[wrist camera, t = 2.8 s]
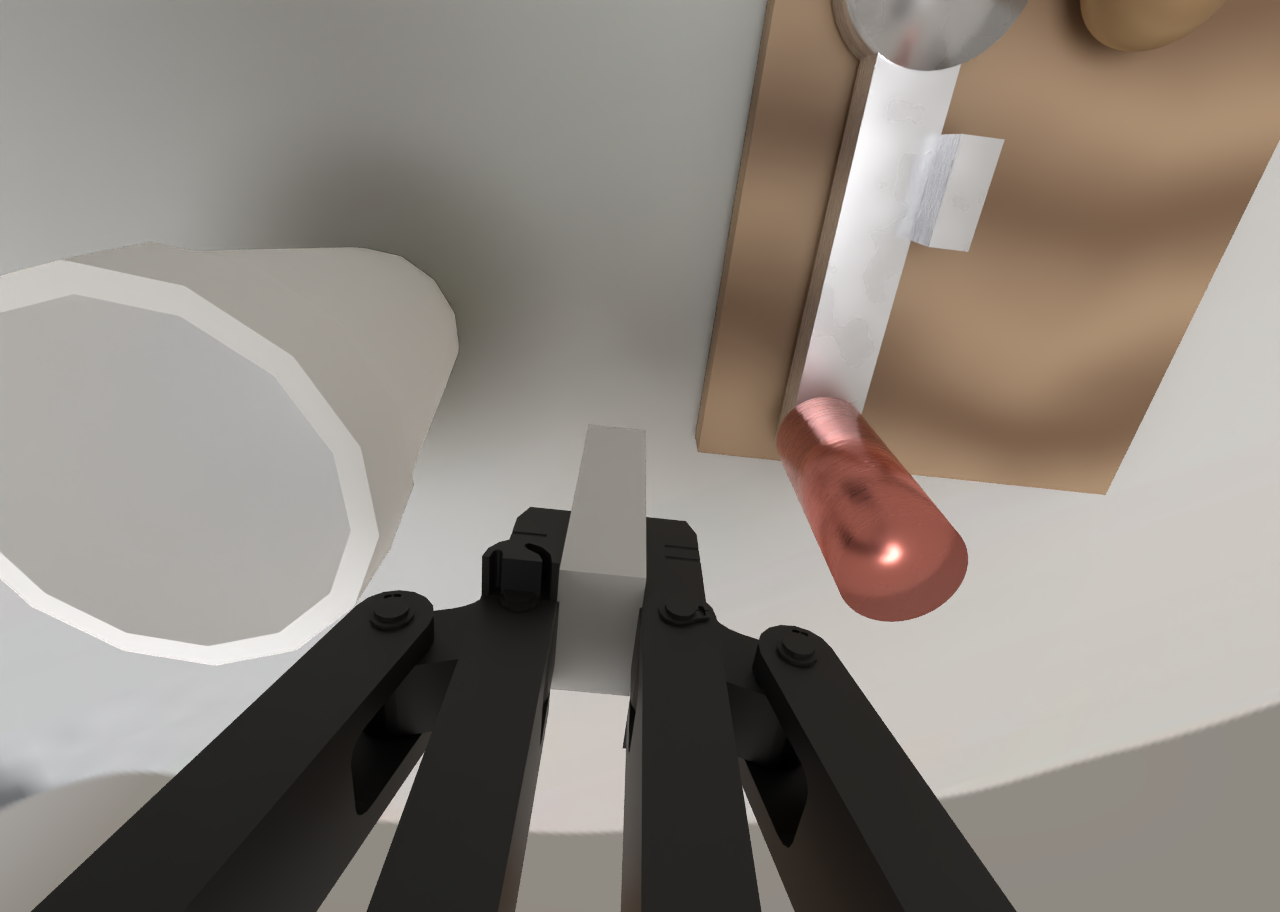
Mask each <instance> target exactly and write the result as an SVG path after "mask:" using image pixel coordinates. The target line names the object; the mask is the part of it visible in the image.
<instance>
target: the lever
mask: <svg viewBox="0 0 1280 912" xmlns="http://www.w3.org/2000/svg"><path fill="white" fill-rule="evenodd" d="M1027 2H1028V0H833V9H834V14H835V19H836V22H837V26H838V29H839V31H840V34H841V36H842V38H843V40H844V42H845V43H846V45H847V46H848V48H849V49H850V51H851V52H852V53H853V54H854V55H855V56H856V58H857V59H858V60H860V64H859V69H858V73H857V78H856V82H855V87H854V91H853V95H852V100H851V104H850V109H849V113H848V118H847V122H846V126H845V131H844V135H843V140H842V144H841V149H840V153H839V157H838V162H837V166H836V171H835V175H834V180H833V184H832V188H831V193H830V197H829V202H828V206H827V211H826V215H825V219H824V224H823V228H822V233H821V237H820V242H819V246H818V250H817V255H816V259H815V264H814V268H813V273H812V277H811V281H810V286H809V290H808V295H807V299H806V304H805V308H804V312H803V317H802V321H801V326H800V330H799V335H798V339H797V343H796V348H795V352H794V357H793V361H792V366H791V370H790V374H789V379H788V383H787V388H786V392H785V397H784V401H783V405H782V410H781V414H780V419H779V423H778V427H777V432H776V436H775V441H774V442H775V445H776V447H777V451H778V454H779V457H780V459H781V461H782V463H783V466H784V468H785V470H786V472H787V475H788V477H789V479H790V481H791V484H792V486H793V488H794V490H795V493H796V495H797V497H798V499H799V502H800V504H801V506H802V508H803V511H804V513H805V515H806V517H807V520H808V522H809V524H810V526H811V529H812V531H813V533H814V535H815V538H816V540H817V542H818V544H819V547H820V549H821V551H822V553H823V556H824V558H825V560H826V562H827V565H828V567H829V569H830V571H831V574H832V576H833V578H834V580H835V583H836V585H837V587H838V589H839V592H840V594H841V596H842V598H843V599H844V601H845V602H846V603H847V604H848V606H849V607H850V608H852V609H853V610H854V611H856V612H857V613H859V614H861V615H862V616H865V617H867V618H870V619H874V620H879V621H890V622H894V621H904V620H909V619H913V618H917V617H920V616H922V615H925V614H927V613H929V612H931V611H933V610H935V609H936V608H938V607H939V606H941V605H942V604H943V603H945V602H946V601H947V600H948V599H949V598H950V597H951V596H952V595H953V594H954V593H955V592H956V590H957V589H958V588H959V586H960V585H961V583H962V581H963V579H964V577H965V574H966V571H967V565H968V554H967V548H966V546H965V543H964V541H963V539H962V537H961V536H960V535H959V534H958V532H957V531H956V530H955V529H954V527H953V526H952V525H951V524H950V523H949V521H948V520H947V519H946V518H945V516H944V515H943V514H942V513H941V512H940V510H939V509H938V508H937V507H936V505H935V504H934V503H933V502H932V501H931V499H930V498H929V497H928V496H927V494H926V493H925V492H924V491H923V490H922V488H921V487H920V486H919V485H918V483H917V482H916V481H915V480H914V479H913V477H912V476H911V475H910V474H909V472H908V471H907V470H906V469H905V468H904V466H903V465H902V464H901V463H900V461H899V460H898V459H897V458H896V457H895V455H894V454H893V453H892V452H891V450H890V449H889V448H888V447H887V446H886V444H885V443H884V442H883V441H882V439H881V438H880V437H879V436H878V435H877V433H876V432H875V431H874V430H873V428H872V427H871V426H870V425H869V424H868V422H867V421H866V420H865V419H864V417H863V416H862V415H861V414H862V411H863V407H864V404H865V400H866V397H867V393H868V390H869V386H870V383H871V379H872V376H873V372H874V368H875V365H876V361H877V358H878V354H879V351H880V347H881V344H882V340H883V337H884V333H885V330H886V326H887V323H888V319H889V316H890V312H891V309H892V305H893V302H894V298H895V295H896V291H897V288H898V284H899V281H900V277H901V274H902V270H903V267H904V263H905V260H906V256H907V253H908V249H909V246H910V242H911V241H913V242H916V243H919V244H922V245H925V246H927V247H933V248H941V249H949V250H957V251H965V252H968V251H969V248H970V245H971V242H972V239H973V236H974V233H975V230H976V226H977V223H978V220H979V217H980V214H981V211H982V208H983V205H984V202H985V199H986V196H987V192H988V189H989V186H990V183H991V180H992V177H993V174H994V171H995V168H996V165H997V162H998V159H999V155H1000V152H1001V149H1002V146H1003V143H1004V140H1005V139H997V138H990V137H982V136H974V135H967V134H946V135H941V133H942V130H943V126H944V123H945V119H946V116H947V112H948V109H949V105H950V101H951V98H952V94H953V91H954V87H955V84H956V80H957V77H958V73H959V70H960V66H961V64H962V63H965V62H967V61H969V60H971V59H973V58H975V57H976V56H978V55H980V54H981V53H983V52H984V51H985V50H987V49H988V48H990V47H991V46H992V45H993V44H994V43H995V42H996V41H998V40H999V39H1000V38H1001V37H1002V36H1003V35H1004V34H1005V33H1006V31H1007V30H1008V29H1009V28H1010V27H1011V26H1012V24H1013V23H1014V22H1015V20H1016V19H1017V18H1018V16H1019V15H1020V13H1021V12H1022V10H1023V8H1024V7H1025V5H1026V3H1027Z"/></svg>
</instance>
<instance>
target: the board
mask: <svg viewBox="0 0 1280 912" xmlns="http://www.w3.org/2000/svg"><path fill="white" fill-rule="evenodd" d="M859 64H860V60H858V59H857V58H856V56H855V55H854V54H853V53H852V52H851V51H850V49H849V48H848V46H847V45H846V43H845V42H844V40H843V38H842V36H841V34H840V31H839V29H838V26H837V22H836V19H835V14H834V9H833V0H768V2H767V8H766V14H765V20H764V26H763V32H762V38H761V44H760V50H759V56H758V62H757V68H756V74H755V80H754V86H753V92H752V98H751V104H750V110H749V116H748V122H747V128H746V134H745V140H744V146H743V152H742V158H741V164H740V170H739V176H738V182H737V188H736V194H735V200H734V206H733V212H732V218H731V224H730V230H729V236H728V242H727V248H726V254H725V260H724V266H723V272H722V278H721V284H720V290H719V296H718V302H717V308H716V314H715V320H714V326H713V332H712V338H711V344H710V350H709V356H708V362H707V368H706V374H705V380H704V386H703V392H702V398H701V404H700V410H699V416H698V422H697V428H696V434H695V439H696V444H697V449H698V452H703V453H713V454H722V455H732V456H741V457H751V458H760V459H770V460H779V461H781V459H780V457H779V454H778V451H777V447H776V445H775V442H774V441H775V436H776V432H777V427H778V423H779V419H780V414H781V410H782V405H783V401H784V397H785V392H786V388H787V383H788V379H789V374H790V370H791V366H792V361H793V357H794V352H795V348H796V343H797V339H798V335H799V330H800V326H801V321H802V317H803V312H804V308H805V304H806V299H807V295H808V290H809V286H810V281H811V277H812V273H813V268H814V264H815V259H816V255H817V250H818V246H819V242H820V237H821V233H822V228H823V224H824V219H825V215H826V211H827V206H828V202H829V197H830V193H831V188H832V184H833V180H834V175H835V171H836V166H837V162H838V157H839V153H840V149H841V144H842V140H843V135H844V131H845V126H846V122H847V118H848V113H849V109H850V104H851V100H852V95H853V91H854V87H855V82H856V78H857V73H858V69H859ZM946 134H967V135H974V136H982V137H990V138H997V139H1005V140H1004V143H1003V146H1002V149H1001V152H1000V155H999V159H998V162H997V165H996V168H995V171H994V174H993V177H992V180H991V183H990V186H989V189H988V192H987V196H986V199H985V202H984V205H983V208H982V211H981V214H980V217H979V220H978V223H977V226H976V230H975V233H974V236H973V239H972V242H971V245H970V248H969V251H968V252H965V251H957V250H949V249H941V248H933V247H927V246H925V245H922V244H919V243H916V242H913V241H911V242H910V246H909V249H908V253H907V256H906V260H905V263H904V267H903V270H902V274H901V277H900V281H899V284H898V288H897V291H896V295H895V298H894V302H893V305H892V309H891V312H890V316H889V319H888V323H887V326H886V330H885V333H884V337H883V340H882V344H881V347H880V351H879V354H878V358H877V361H876V365H875V368H874V372H873V376H872V379H871V383H870V386H869V390H868V393H867V397H866V400H865V404H864V407H863V411H862V414H861V415H862V416H863V417H864V419H865V420H866V421H867V422H868V424H869V425H870V426H871V427H872V428H873V430H874V431H875V432H876V433H877V435H878V436H879V437H880V438H881V439H882V441H883V442H884V443H885V444H886V446H887V447H888V448H889V449H890V450H891V452H892V453H893V454H894V455H895V457H896V458H897V459H898V460H899V461H900V463H901V464H902V465H903V466H904V468H905V469H906V470H907V471H908V472H909V474H912V475H922V476H931V477H941V478H950V479H960V480H969V481H979V482H988V483H998V484H1007V485H1017V486H1026V487H1036V488H1045V489H1055V490H1064V491H1074V492H1083V493H1093V494H1103V495H1106V493H1107V491H1108V489H1109V487H1110V485H1111V483H1112V481H1113V478H1114V476H1115V474H1116V472H1117V470H1118V468H1119V466H1120V464H1121V462H1122V460H1123V458H1124V456H1125V454H1126V452H1127V450H1128V448H1129V446H1130V444H1131V442H1132V440H1133V438H1134V436H1135V434H1136V432H1137V430H1138V427H1139V425H1140V423H1141V421H1142V419H1143V417H1144V415H1145V413H1146V411H1147V409H1148V407H1149V405H1150V403H1151V401H1152V399H1153V397H1154V395H1155V393H1156V391H1157V389H1158V387H1159V385H1160V383H1161V381H1162V379H1163V377H1164V374H1165V372H1166V370H1167V368H1168V366H1169V364H1170V362H1171V360H1172V358H1173V356H1174V354H1175V352H1176V350H1177V348H1178V346H1179V344H1180V342H1181V340H1182V338H1183V336H1184V334H1185V332H1186V330H1187V328H1188V326H1189V323H1190V321H1191V319H1192V317H1193V315H1194V313H1195V311H1196V309H1197V307H1198V305H1199V303H1200V301H1201V299H1202V297H1203V295H1204V293H1205V291H1206V289H1207V287H1208V285H1209V283H1210V281H1211V279H1212V277H1213V275H1214V272H1215V270H1216V268H1217V266H1218V264H1219V262H1220V260H1221V258H1222V256H1223V254H1224V252H1225V250H1226V248H1227V246H1228V244H1229V242H1230V240H1231V238H1232V236H1233V234H1234V232H1235V230H1236V228H1237V226H1238V224H1239V222H1240V219H1241V217H1242V215H1243V213H1244V211H1245V209H1246V207H1247V205H1248V203H1249V201H1250V199H1251V197H1252V195H1253V193H1254V191H1255V189H1256V187H1257V185H1258V183H1259V181H1260V179H1261V177H1262V175H1263V173H1264V171H1265V168H1266V166H1267V164H1268V162H1269V160H1270V158H1271V156H1272V154H1273V152H1274V150H1275V148H1276V146H1277V144H1278V142H1279V140H1280V0H1227V1H1226V2H1225V3H1224V4H1223V5H1222V6H1221V8H1220V9H1219V10H1218V11H1217V12H1216V13H1215V14H1214V15H1213V16H1212V17H1211V18H1210V19H1209V20H1207V21H1206V22H1205V23H1204V24H1202V25H1201V26H1200V27H1199V28H1197V29H1196V30H1194V31H1193V32H1191V33H1190V34H1188V35H1187V36H1185V37H1183V38H1181V39H1179V40H1177V41H1175V42H1173V43H1171V44H1168V45H1166V46H1163V47H1160V48H1156V49H1152V50H1148V51H1137V52H1129V51H1121V50H1116V49H1113V48H1110V47H1108V46H1106V45H1104V44H1102V43H1101V42H1099V41H1098V40H1097V39H1096V38H1095V37H1094V36H1093V35H1092V34H1091V33H1090V31H1089V30H1088V28H1087V27H1086V25H1085V23H1084V20H1083V17H1082V13H1081V8H1080V0H1028V2H1027V3H1026V5H1025V7H1024V8H1023V10H1022V12H1021V13H1020V15H1019V16H1018V18H1017V19H1016V20H1015V22H1014V23H1013V24H1012V26H1011V27H1010V28H1009V29H1008V30H1007V31H1006V33H1005V34H1004V35H1003V36H1002V37H1001V38H1000V39H999V40H998V41H996V42H995V43H994V44H993V45H992V46H991V47H990V48H988V49H987V50H985V51H984V52H983V53H981V54H980V55H978V56H976V57H975V58H973V59H971V60H969V61H967V62H965V63H962V64H961V66H960V70H959V73H958V77H957V80H956V84H955V87H954V91H953V94H952V98H951V101H950V105H949V109H948V112H947V116H946V119H945V123H944V126H943V130H942V133H941V135H946Z"/></svg>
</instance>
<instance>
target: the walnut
mask: <svg viewBox="0 0 1280 912" xmlns="http://www.w3.org/2000/svg"><path fill="white" fill-rule="evenodd" d="M1226 1H1227V0H1080V8H1081V13H1082V17H1083V20H1084V23H1085V25H1086V27H1087V28H1088V30H1089V31H1090V33H1091V34H1092V35H1093V36H1094V37H1095V38H1096V39H1097V40H1098V41H1099V42H1101V43H1102V44H1104V45H1106V46H1108V47H1110V48H1113V49H1116V50H1121V51H1129V52H1137V51H1148V50H1152V49H1156V48H1160V47H1163V46H1166V45H1168V44H1171V43H1173V42H1175V41H1177V40H1179V39H1181V38H1183V37H1185V36H1187V35H1188V34H1190V33H1191V32H1193V31H1194V30H1196V29H1197V28H1199V27H1200V26H1201V25H1202V24H1204V23H1205V22H1206V21H1207V20H1209V19H1210V18H1211V17H1212V16H1213V15H1214V14H1215V13H1216V12H1217V11H1218V10H1219V9H1220V8H1221V6H1222V5H1223V4H1224V3H1225V2H1226Z"/></svg>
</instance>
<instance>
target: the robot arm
mask: <svg viewBox="0 0 1280 912" xmlns="http://www.w3.org/2000/svg"><path fill="white" fill-rule="evenodd" d="M550 688H551V689H557V690H568V691H579V692H590V693H601V694H612V695H623V696H629V695H630V702H629V709H628V716H627V722H626V729H625V736H624V743H623V748H626V768H625V799H624V830H623V861H622V893H621V912H761V906H760V900H759V893H758V887H757V880H756V873H755V867H754V860H753V854H752V847H751V841H750V834H749V828H748V821H747V815H746V808H745V802H744V795H743V789H744V791H745V793H746V796H747V798H748V801H749V803H750V805H751V808H752V810H753V813H754V815H755V817H756V820H757V822H758V825H759V827H760V829H761V832H762V834H763V836H764V839H765V841H766V844H767V846H768V848H769V851H770V853H771V856H772V858H773V860H774V863H775V865H776V868H777V870H778V872H779V875H780V877H781V880H782V882H783V884H784V887H785V889H786V892H787V894H788V897H789V899H790V901H791V904H792V906H793V908H794V911H795V912H1016V910H1015V909H1014V907H1013V906H1012V905H1011V903H1010V902H1009V900H1008V899H1007V897H1006V896H1005V894H1004V893H1003V892H1002V890H1001V889H1000V887H999V886H998V885H997V883H996V882H995V881H994V879H993V878H992V876H991V875H990V873H989V872H988V870H987V869H986V867H985V866H984V865H983V863H982V862H981V860H980V859H979V857H978V856H977V855H976V853H975V852H974V850H973V849H972V848H971V846H970V845H969V843H968V842H967V840H966V839H965V838H964V836H963V835H962V833H961V832H960V830H959V829H958V828H957V827H956V825H955V823H954V822H953V820H952V819H951V818H950V816H949V815H948V813H947V812H946V810H945V809H944V808H943V806H942V805H941V804H940V802H939V800H938V799H937V798H936V796H935V795H934V793H933V792H932V790H931V789H930V788H929V786H928V785H927V783H926V782H925V780H924V779H923V778H922V776H921V775H920V773H919V772H918V771H917V769H916V768H915V766H914V765H913V763H912V762H911V761H910V759H909V758H908V756H907V755H906V753H905V752H904V751H903V749H902V748H901V746H900V745H899V743H898V742H897V741H896V739H895V738H894V736H893V735H892V733H891V732H890V731H889V729H888V728H887V726H886V725H885V724H884V722H883V721H882V719H881V718H880V716H879V715H878V714H877V712H876V711H875V709H874V708H873V706H872V705H871V704H870V702H869V701H868V699H867V698H866V696H865V695H864V694H863V692H862V691H861V689H860V688H859V686H858V685H857V684H856V682H855V681H854V679H853V678H852V677H851V675H850V674H849V672H848V671H847V669H846V668H845V667H844V665H843V664H842V662H841V661H840V659H839V658H838V657H837V655H836V654H835V652H834V651H833V649H832V648H831V647H830V646H829V645H828V644H827V643H826V642H825V641H824V640H823V639H822V638H821V637H819V636H817V635H816V634H814V633H812V632H810V631H809V630H805V629H802V628H799V627H796V626H786V625H779V626H775V627H770V628H768V629H767V630H765V631H764V632H763V633H762V634H761V635H760V638H759V640H758V639H755V638H752V637H749V636H745V635H742V634H740V633H737V632H735V631H732V630H730V629H728V628H727V627H725V626H723V625H722V624H720V623H719V622H718V621H717V619H716V616H715V613H714V611H713V609H712V607H711V606H710V605H708V604H707V603H706V599H705V592H704V584H703V577H702V570H701V563H700V556H699V551H698V542H697V535H696V533H695V532H694V531H693V530H692V528H691V527H690V526H689V525H688V523H687V522H686V521H678V520H668V519H659V518H649V517H646V455H645V431H643V430H634V429H625V428H616V427H606V426H597V425H589V427H588V431H587V436H586V441H585V446H584V451H583V456H582V461H581V466H580V471H579V476H578V481H577V486H576V491H575V496H574V500H573V505H572V510H571V511H565V510H555V509H545V508H535V507H530V508H529V509H527V510H526V511H525V512H524V513H523V514H521V515H520V516H519V517H518V518H517V520H516V523H515V526H514V528H513V532H512V534H511V537H510V540H506V541H502V542H499V543H497V544H495V545H493V546H491V547H489V548H488V549H487V551H486V552H485V553H484V554H483V556H482V596H481V598H480V600H478V601H476V602H475V603H472V604H469V605H466V606H463V607H458V608H453V609H445V610H437V611H433V605H432V604H431V602H430V601H429V600H428V599H427V598H426V597H424V596H422V595H420V594H417V593H415V592H409V591H401V590H398V591H389V592H383V593H380V594H377V595H374V596H371V597H368V598H367V599H365V600H364V601H363V602H361V603H360V604H358V605H357V606H356V607H355V608H353V609H352V610H351V611H350V612H349V613H348V614H347V615H346V616H345V617H344V618H343V619H342V620H341V621H340V622H339V623H337V624H336V625H335V626H334V627H333V628H332V629H331V630H330V631H329V632H328V633H327V634H326V635H325V636H324V637H323V638H322V639H320V640H319V641H318V642H317V643H316V644H315V645H314V646H313V647H312V648H311V649H310V650H309V651H308V652H307V653H306V654H305V655H303V656H302V657H301V658H300V659H299V660H298V661H297V662H296V663H295V664H294V665H293V666H292V667H291V668H290V669H289V670H287V671H286V672H285V673H284V674H283V675H282V676H281V677H280V678H279V679H278V680H277V681H276V682H275V683H274V684H273V685H272V686H270V687H269V688H268V689H267V690H266V691H265V692H264V693H263V694H262V695H261V696H260V697H259V698H258V699H257V700H256V701H255V702H253V703H252V704H251V705H250V706H249V707H248V708H247V709H246V710H245V711H244V712H243V713H242V714H241V715H240V716H239V717H237V718H236V719H235V720H234V721H233V722H232V723H231V724H230V725H229V726H228V727H227V728H226V729H225V730H224V731H223V732H222V733H220V734H219V735H218V736H217V737H216V738H215V739H214V740H213V741H212V742H211V743H210V744H209V745H208V746H207V747H206V748H205V749H203V750H202V751H201V752H200V753H199V754H198V755H197V756H196V757H195V758H194V759H193V760H192V761H191V762H190V763H189V764H187V765H186V766H185V767H184V768H183V769H182V770H181V771H180V772H179V773H178V774H177V775H176V776H175V777H174V778H173V779H172V780H170V781H169V782H168V783H167V784H166V785H165V786H164V787H163V788H162V789H161V790H160V791H159V792H158V793H157V794H156V795H155V796H153V797H152V798H151V799H150V800H149V801H148V802H147V803H146V804H145V805H144V806H143V807H142V808H141V809H140V810H139V811H137V812H136V814H134V815H133V816H132V817H131V818H130V819H129V820H128V821H127V822H126V823H125V824H124V825H123V826H122V827H120V828H119V829H118V830H117V831H116V832H115V833H114V834H113V835H112V836H111V837H110V838H109V839H108V840H107V841H106V842H105V843H103V844H102V845H101V846H100V847H99V848H98V849H97V850H96V851H95V852H94V853H93V854H92V855H91V856H90V857H89V858H87V859H86V860H85V862H83V863H82V864H81V865H80V866H79V867H78V868H77V869H76V870H75V871H74V872H73V873H72V874H70V875H69V876H68V877H67V878H66V879H65V880H64V881H63V882H62V883H61V884H60V885H59V886H58V887H57V888H56V889H55V890H54V891H52V892H51V893H50V894H49V895H48V896H47V897H46V898H45V899H44V900H43V901H42V902H41V903H40V904H39V905H37V906H36V907H35V908H34V909H33V910H32V911H31V912H316V911H317V910H318V908H319V907H320V905H321V904H322V902H323V901H324V900H325V898H326V897H327V895H328V893H329V892H330V891H331V889H332V888H333V886H334V885H335V883H336V882H337V880H338V879H339V877H340V876H341V874H342V873H343V871H344V870H345V868H346V867H347V865H348V864H349V862H350V861H351V860H352V858H353V857H354V855H355V854H356V852H357V851H358V849H359V848H360V846H361V845H362V843H363V842H364V840H365V839H366V837H367V836H368V834H369V833H370V831H371V830H372V828H373V827H374V825H375V824H376V823H377V821H378V820H379V818H380V817H381V815H382V814H383V812H384V811H385V809H386V808H387V806H388V805H389V803H390V802H391V800H392V799H393V797H394V796H395V794H396V793H397V791H398V790H399V788H400V787H401V786H402V784H403V783H404V781H405V780H406V778H407V777H408V775H409V774H410V772H411V771H412V769H413V768H414V766H415V765H416V763H417V762H418V760H419V759H420V757H421V756H422V754H423V753H424V755H423V758H422V761H421V763H420V766H419V769H418V772H417V775H416V777H415V780H414V783H413V786H412V788H411V791H410V794H409V797H408V799H407V802H406V805H405V808H404V810H403V813H402V816H401V819H400V821H399V824H398V827H397V830H396V832H395V836H394V838H393V841H392V843H391V846H390V849H389V852H388V854H387V857H386V860H385V863H384V865H383V868H382V871H381V874H380V876H379V879H378V882H377V885H376V887H375V890H374V893H373V896H372V898H371V901H370V904H369V907H368V909H367V912H515V909H516V903H517V897H518V891H519V885H520V878H521V873H522V867H523V861H524V855H525V849H526V843H527V837H528V831H529V825H530V819H531V813H532V807H533V801H534V795H535V789H536V783H537V777H538V771H539V765H540V759H541V753H542V747H543V741H544V735H545V729H546V723H547V717H548V711H549V698H550ZM424 751H425V752H424ZM742 786H743V789H742Z"/></svg>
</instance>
